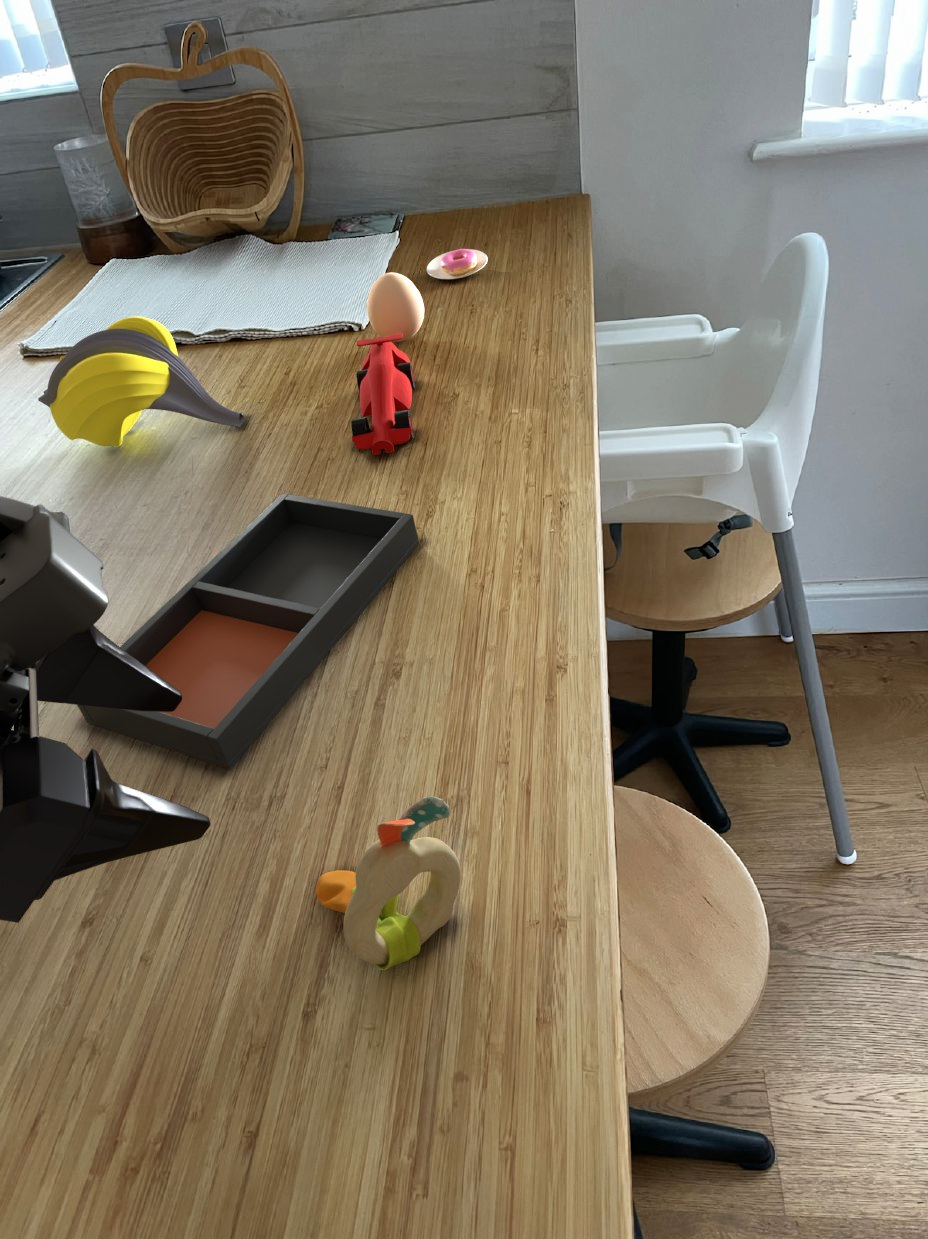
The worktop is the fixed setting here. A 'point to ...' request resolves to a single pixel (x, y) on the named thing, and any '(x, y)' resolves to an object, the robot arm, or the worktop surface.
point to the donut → (457, 264)
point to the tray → (259, 622)
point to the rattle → (395, 888)
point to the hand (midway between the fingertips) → (191, 761)
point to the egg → (395, 306)
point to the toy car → (384, 396)
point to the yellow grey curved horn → (125, 383)
